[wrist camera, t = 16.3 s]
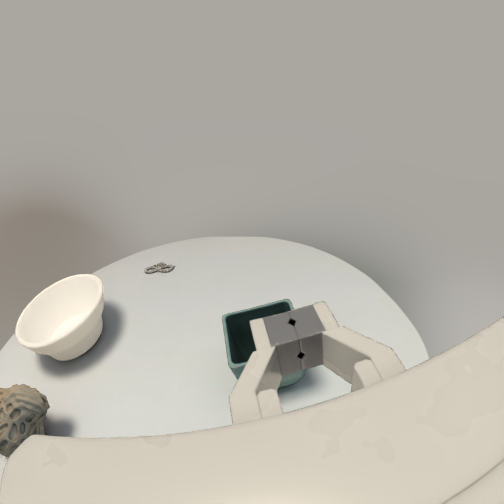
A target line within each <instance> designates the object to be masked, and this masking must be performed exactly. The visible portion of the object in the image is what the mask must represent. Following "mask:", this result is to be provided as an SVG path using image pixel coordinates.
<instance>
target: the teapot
mask: <svg viewBox="0 0 504 504" xmlns="http://www.w3.org/2000/svg"><path fill="white" fill-rule="evenodd" d="M49 407H50V406H49V404H48V401H47V399H46V396H45V395H43V394H41V393H40V392H39V391H37V390H36V389H35V388H30V387H29V386H26V385H25V384H22V385H17V384H16V385H13V386H12V387H10V388H6V389H5V388H0V453H1V454H2V455H4V456H6V457H10V455H11V454H12V453H13V452H14V451H15V450H16V449H17V448H18V447H19V446H20V445H21V444H22V443H23V442H24V441H25V440H26V439H27V438H28V437H29V436H31V435H45V432H44V425H43V422H42V420H43V419H44V418H45V417H46V413H47V410H48V408H49Z"/></svg>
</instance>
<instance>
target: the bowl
mask: <svg viewBox="0 0 504 504" xmlns="http://www.w3.org/2000/svg"><path fill="white" fill-rule="evenodd" d="M103 308H104V293H103V284H102V281H101V280H100V279H99V278H98V277H96V276H94V275H90V274H79V275H74V276H71V277H68V278H65V279H63V280H60V281H58V282H56V283H54V284H52V285H51V286H49V287H48V288H46V289H45V290H43V291H42V292H41V293H39V294H38V295H37V296H36V297H35V298H34V299H33V300H32V301H31V302H30V303H29V304H28V305H27V306H26V308H25V309H24V311H23V312H22V314H21V315H20V317H19V320H18V322H17V325H16V338H17V340H18V342H19V343H20V344H21V345H23V346H24V347H26V348H28V349H30V350H32V351H34V352H36V353H38V354H42V355H50V356H51V357H53V358H54V359H56V360H59V361H66V360H71V359H74V358H77V357H78V356H80V355H82V354H84V353H85V352H86V351H88V350H89V349H90V348H91V347H92V346H93V345H94V344H95V342H96V341H97V340H98V338H99V337H100V334H101V332H102V328H103V321H102V316H101V314H102V312H103Z"/></svg>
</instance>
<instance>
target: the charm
mask: <svg viewBox="0 0 504 504" xmlns="http://www.w3.org/2000/svg"><path fill="white" fill-rule="evenodd" d="M166 267H171V268H170V269H167V270H162V269H163V268H166ZM173 267H175V266H172V265H167V264H164V263H162V262H161V263H159V264H157V265H154V266H151V267H148V268H145V270H144V271H145V273H152V272H156V271H161V272H168V271H171V270H172V269H173ZM151 268H154V269H155V270H152V271H147V270H148V269H151Z"/></svg>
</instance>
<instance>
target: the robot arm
mask: <svg viewBox="0 0 504 504" xmlns="http://www.w3.org/2000/svg"><path fill="white" fill-rule="evenodd" d="M250 326H251V330H252V335H253V339H254V343H255V347H256V351H254V352H253V353H252V354H251V356H250V358H249V360H248V362H247V364H246V366H245V368H244V370H243V372H242V373H241V375H240V377H239V379H238V381H237V383H236V385H235V387H234V388H233V390H232V392H231V394H230V396H229V402H230V409H231V416H232V423H233V425H229V426H224V427H218V428H212V429H206V430H199V431H192V432H184V433H175V434H166V435H154V436H140V437H118V438H80V437H59V436H47V435H31V436H29V437H28V438H27V439H26V440H25V441H24V442H23V443H22V444H21V445H20V446H19V447H18V448H17V449H16V450H15V451H14V452H13V453H12V454H11V455H10V457H9V458H8V460H7V463H6V465H5V468H4V471H3V475H2V479H1V484H0V504H504V316H503V317H502V318H500V319H499V320H497V321H496V322H494V323H492V324H491V325H490V326H488V327H486V328H485V329H483V330H481V331H480V332H478V333H476V334H475V335H473V336H471V337H469V338H468V339H466V340H464V341H463V342H461V343H459V344H457V345H455V346H454V347H452V348H450V349H448V350H446V351H444V352H442V353H440V354H438V355H436V356H435V357H433V358H431V359H429V360H426V361H424V362H422V363H420V364H418V365H416V366H414V367H412V368H410V369H407V370H406V369H405V367H404V366H403V364H402V363H401V361H400V360H399V358H398V357H397V355H396V354H395V352H394V351H393V349H392V348H390V347H388V346H386V345H383V344H381V343H379V342H377V341H374V340H372V339H370V338H368V337H366V336H363V335H361V334H359V333H357V332H355V331H353V330H350V329H348V328H346V327H344V326H343V327H340V326H339V325H338V323H337V321H336V319H335V318H334V316H333V314H332V313H331V311H330V309H329V307H328V306H327V304H326V302H324V301H322V302H318V303H315V304H312V305H309V306H305V307H302V308H298V309H295V310H291V311H288V312H284V313H280V314H275V315H271V316H267V317H263V318H259V319H255V320H250ZM319 365H324V366H325V367H327V368H328V369H330V370H331V371H333V372H334V373H336V374H337V375H338V376H340V377H341V378H343V379H344V380H346V381H347V382H349V383H350V384H352V387H351V393H348V394H345V395H343V396H340V397H337V398H334V399H331V400H328V401H325V402H321V403H318V404H315V405H312V406H308V407H305V408H301V409H298V410H294V411H291V412H287V413H283V409H282V406H281V403H280V399H279V396H278V393H277V390H278V387H279V385H280V382H281V379H282V376H284V375H288V374H291V373H294V372H298V371H301V370H304V369H308V368H312V367H315V366H319Z"/></svg>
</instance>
